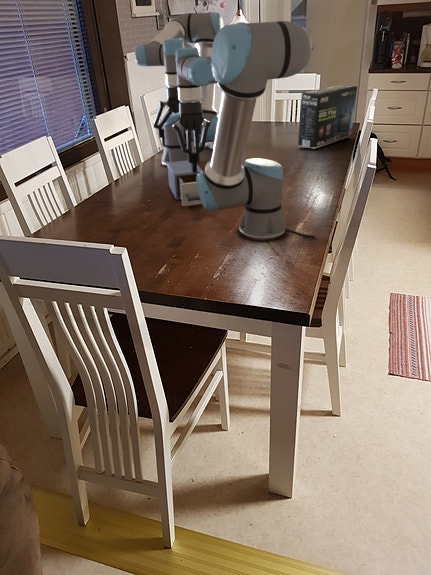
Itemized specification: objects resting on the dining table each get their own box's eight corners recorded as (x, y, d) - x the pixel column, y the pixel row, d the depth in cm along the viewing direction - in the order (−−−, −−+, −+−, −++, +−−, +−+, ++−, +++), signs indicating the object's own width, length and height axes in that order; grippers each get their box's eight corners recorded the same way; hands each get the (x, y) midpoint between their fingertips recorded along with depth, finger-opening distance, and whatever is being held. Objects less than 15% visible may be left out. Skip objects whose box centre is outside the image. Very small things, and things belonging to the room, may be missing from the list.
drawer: (212, 208, 167) (211, 186, 163) (185, 211, 165) (184, 189, 161) (199, 190, 185) (198, 169, 180) (175, 192, 183) (173, 172, 178)
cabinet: (203, 196, 181) (202, 171, 176) (176, 199, 179) (174, 174, 173) (194, 183, 195) (193, 159, 189) (169, 186, 193) (167, 162, 187)
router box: (314, 151, 231) (318, 94, 217) (296, 148, 237) (299, 92, 224) (352, 138, 251) (358, 85, 238) (335, 135, 258) (340, 83, 245)
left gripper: (206, 82, 176) (209, 139, 187) (141, 87, 171) (148, 145, 182) (211, 85, 170) (213, 143, 181) (144, 90, 165) (150, 149, 176)
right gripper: (206, 97, 155) (209, 166, 167) (168, 100, 152) (174, 170, 165) (212, 100, 149) (214, 172, 161) (172, 104, 146) (178, 176, 158)
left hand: (180, 144), depth 181 cm, fingers open, 13 cm apart
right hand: (194, 171), depth 163 cm, fingers closed
